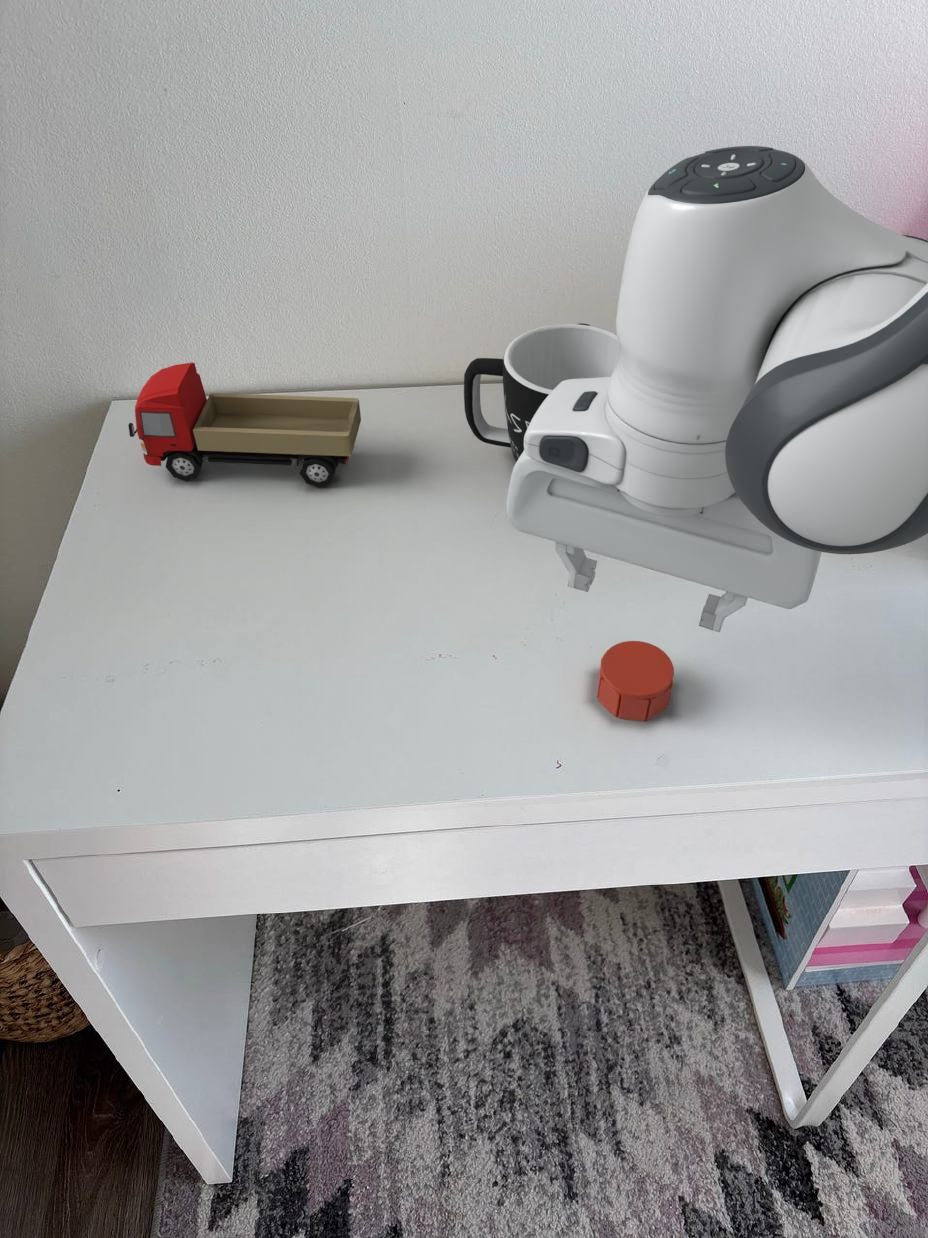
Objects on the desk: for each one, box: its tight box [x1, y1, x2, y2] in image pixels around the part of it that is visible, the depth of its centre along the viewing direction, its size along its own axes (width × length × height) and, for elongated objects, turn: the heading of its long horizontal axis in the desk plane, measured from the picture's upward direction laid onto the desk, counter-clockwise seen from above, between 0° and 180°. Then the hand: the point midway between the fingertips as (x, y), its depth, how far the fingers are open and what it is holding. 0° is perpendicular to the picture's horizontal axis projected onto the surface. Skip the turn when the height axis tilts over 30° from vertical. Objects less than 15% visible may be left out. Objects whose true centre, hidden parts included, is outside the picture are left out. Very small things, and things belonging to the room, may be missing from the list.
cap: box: [596, 640, 675, 722], centre depth 73 cm, size 5×5×3 cm
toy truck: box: [128, 361, 362, 489], centre depth 91 cm, size 7×21×10 cm, turn 85°
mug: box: [463, 322, 619, 463], centre depth 90 cm, size 16×16×12 cm
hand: (644, 603), depth 67 cm, fingers open, 8 cm apart
